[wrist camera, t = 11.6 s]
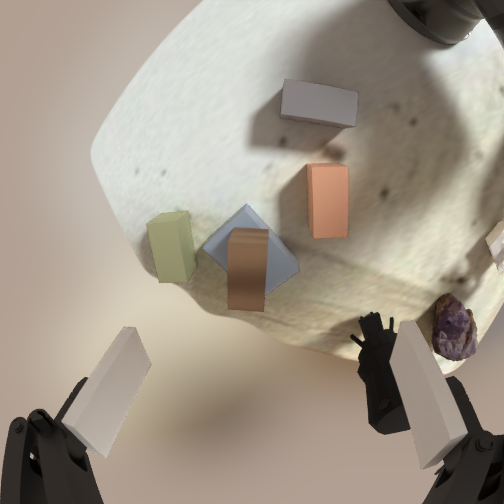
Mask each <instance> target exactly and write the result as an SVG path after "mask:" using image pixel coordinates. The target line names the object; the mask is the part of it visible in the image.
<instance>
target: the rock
mask: <svg viewBox="0 0 504 504" xmlns="http://www.w3.org/2000/svg"><path fill="white" fill-rule="evenodd" d="M435 317H436V318H435V320H434V322H433V333H432V344H433V348H434V352H435V353H437V354H439V355H441V356H443V357H445V358H446V359H448V360H452V361H459V360H463V359H466V358H468V357H470V356H471V355H474V354H475V352H476V349H477V348H478V341H477V339H476V338H477V333H476V332H477V327H476V323H475V322H474V319H473V313H472V310H470V309H467V310H465V308H464V306H463V304H462V303H461V302H460V301H459V300H457V298H456V297H454V296H453V295H452V294H451V293H447V294H446V295H443V296H442V297H441V298H440V299H439V300H438V302H437V304H436V309H435Z"/></svg>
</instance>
